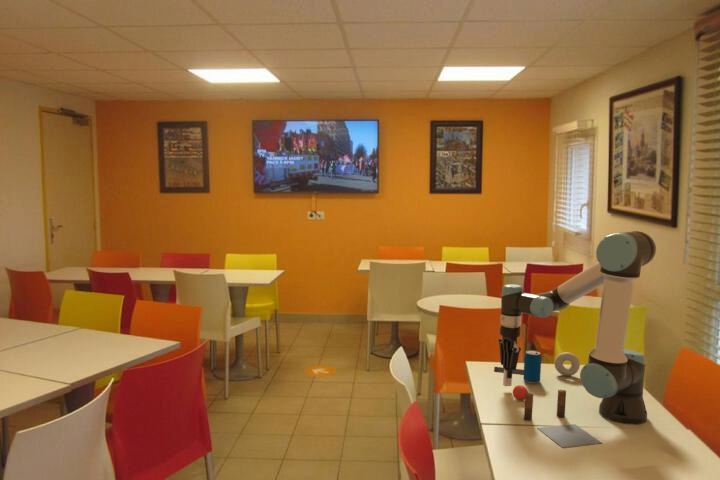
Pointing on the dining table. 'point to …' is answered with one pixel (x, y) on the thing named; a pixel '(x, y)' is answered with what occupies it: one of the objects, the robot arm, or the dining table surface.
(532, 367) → the beverage can
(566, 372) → the donut
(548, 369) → the dining table surface
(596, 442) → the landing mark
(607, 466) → the dining table surface
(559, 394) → the post right
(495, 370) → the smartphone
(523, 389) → the ball
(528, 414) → the post left
